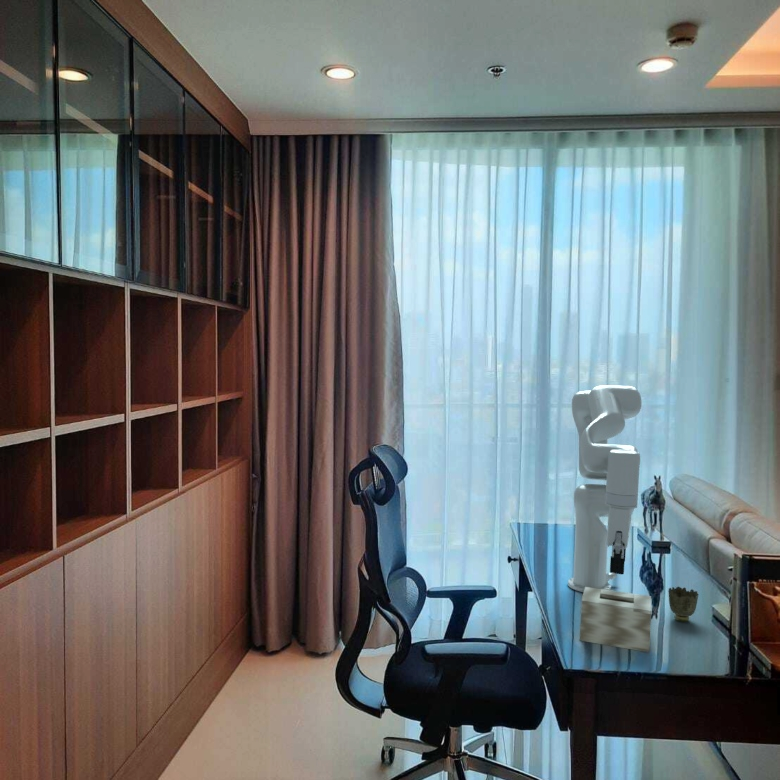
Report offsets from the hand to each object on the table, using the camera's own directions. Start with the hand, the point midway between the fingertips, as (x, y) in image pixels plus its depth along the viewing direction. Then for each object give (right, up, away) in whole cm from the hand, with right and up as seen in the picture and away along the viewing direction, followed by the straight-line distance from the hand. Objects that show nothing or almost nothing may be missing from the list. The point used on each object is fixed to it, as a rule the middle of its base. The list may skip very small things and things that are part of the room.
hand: (617, 567), depth 168 cm
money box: (-1, -18, 0) cm, 18 cm away
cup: (+22, -18, +13) cm, 31 cm away
